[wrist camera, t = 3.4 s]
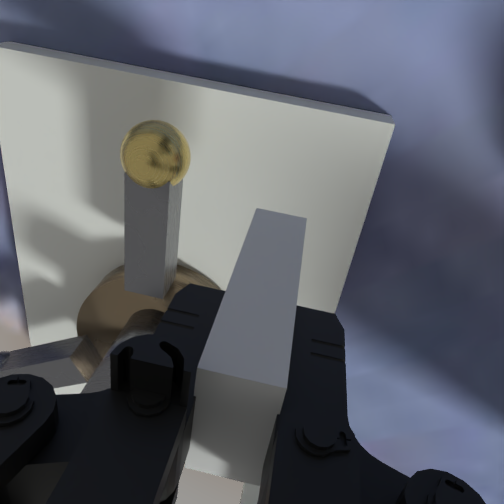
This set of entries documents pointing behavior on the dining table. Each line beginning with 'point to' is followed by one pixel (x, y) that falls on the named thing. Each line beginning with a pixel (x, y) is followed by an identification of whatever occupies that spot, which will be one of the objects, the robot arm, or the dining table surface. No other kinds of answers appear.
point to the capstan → (126, 267)
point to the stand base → (194, 183)
